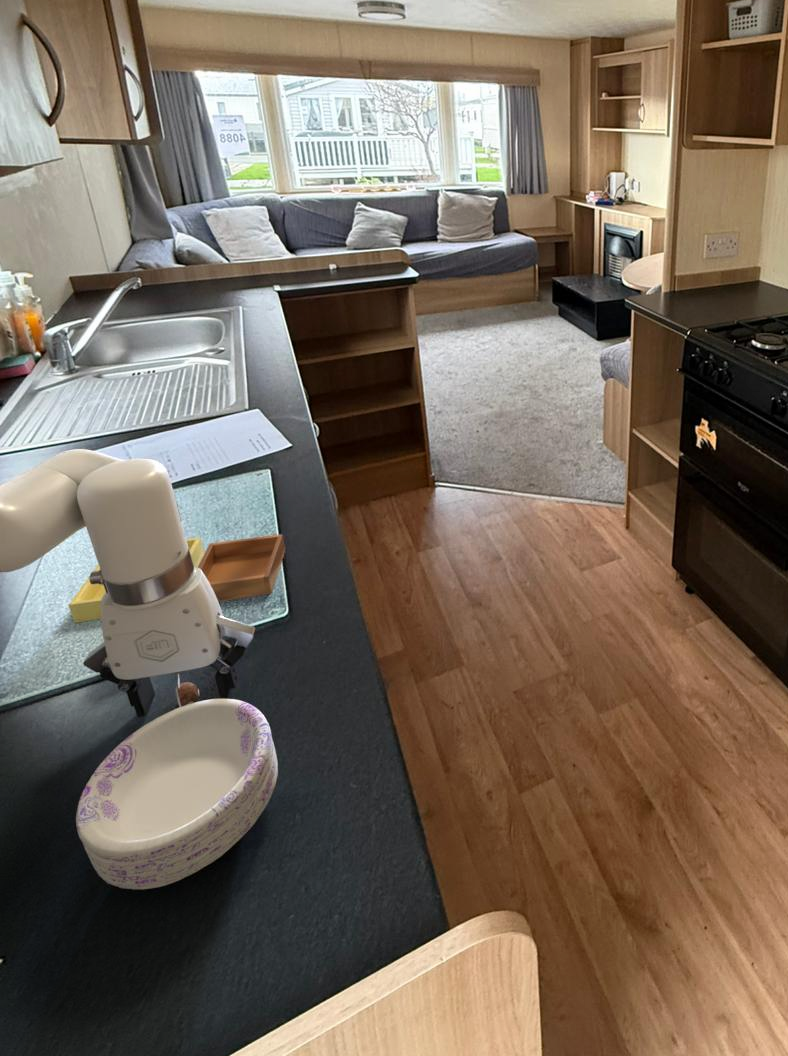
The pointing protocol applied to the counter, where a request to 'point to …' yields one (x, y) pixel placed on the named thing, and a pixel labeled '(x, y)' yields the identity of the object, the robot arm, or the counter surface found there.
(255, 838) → the counter surface
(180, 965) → the counter surface
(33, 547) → the robot arm
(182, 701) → the chocolate
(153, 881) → the paper bowls
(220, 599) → the brown bin
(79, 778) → the counter surface
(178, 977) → the counter surface
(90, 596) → the yellow bin
